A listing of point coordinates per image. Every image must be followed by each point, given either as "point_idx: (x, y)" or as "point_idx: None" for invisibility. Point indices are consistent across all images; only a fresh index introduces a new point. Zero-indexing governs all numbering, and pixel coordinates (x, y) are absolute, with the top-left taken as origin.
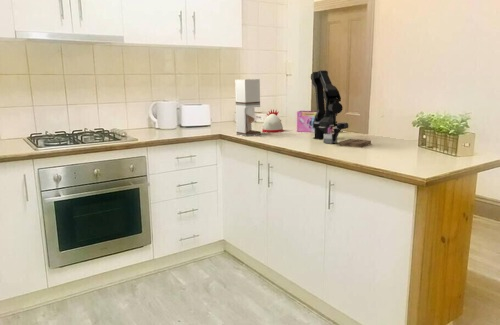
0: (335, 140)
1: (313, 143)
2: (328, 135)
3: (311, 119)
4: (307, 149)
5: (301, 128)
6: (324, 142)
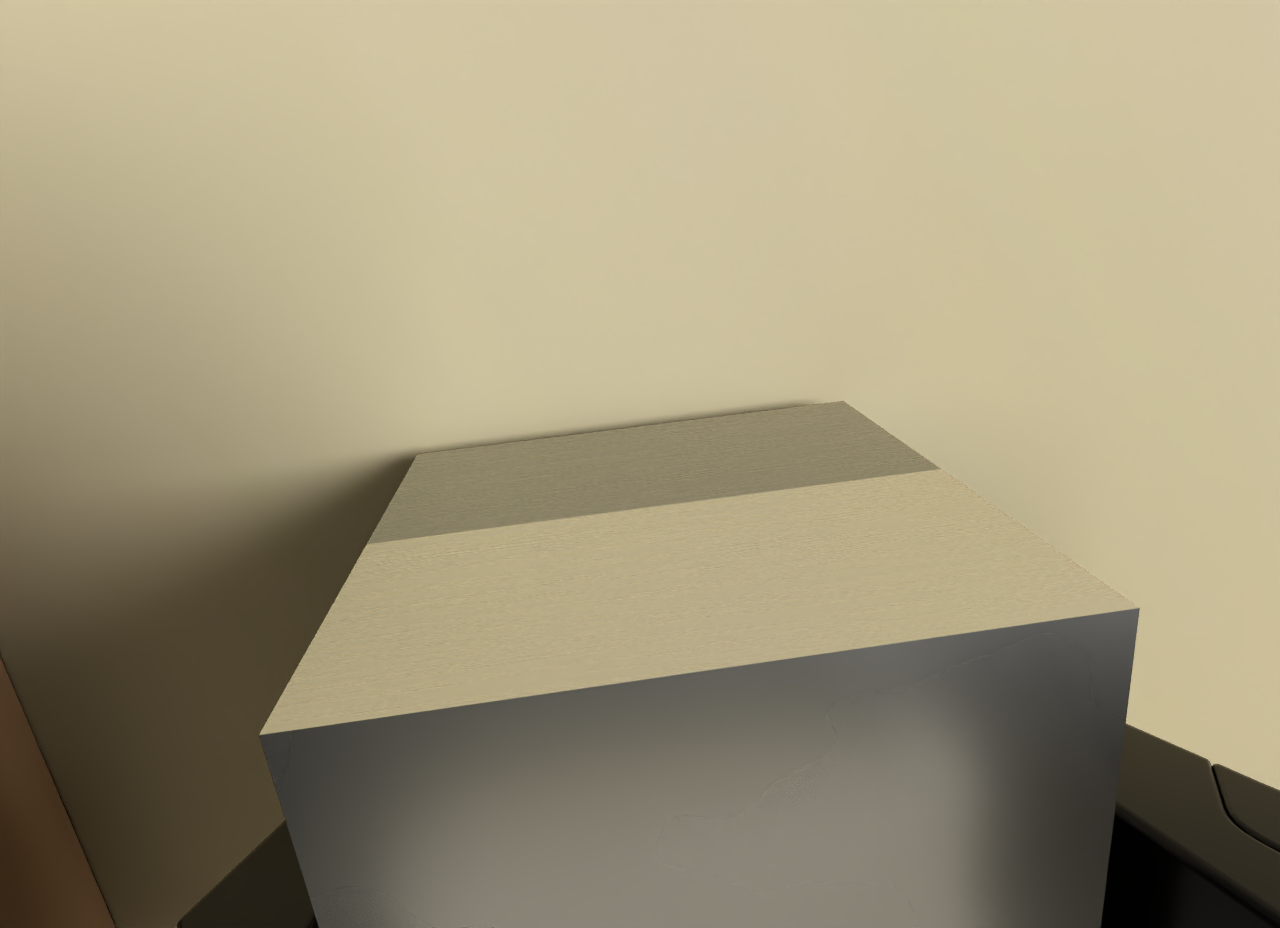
0: None
1: (1220, 108)
2: (611, 615)
3: None
4: None
5: None
6: (798, 416)
